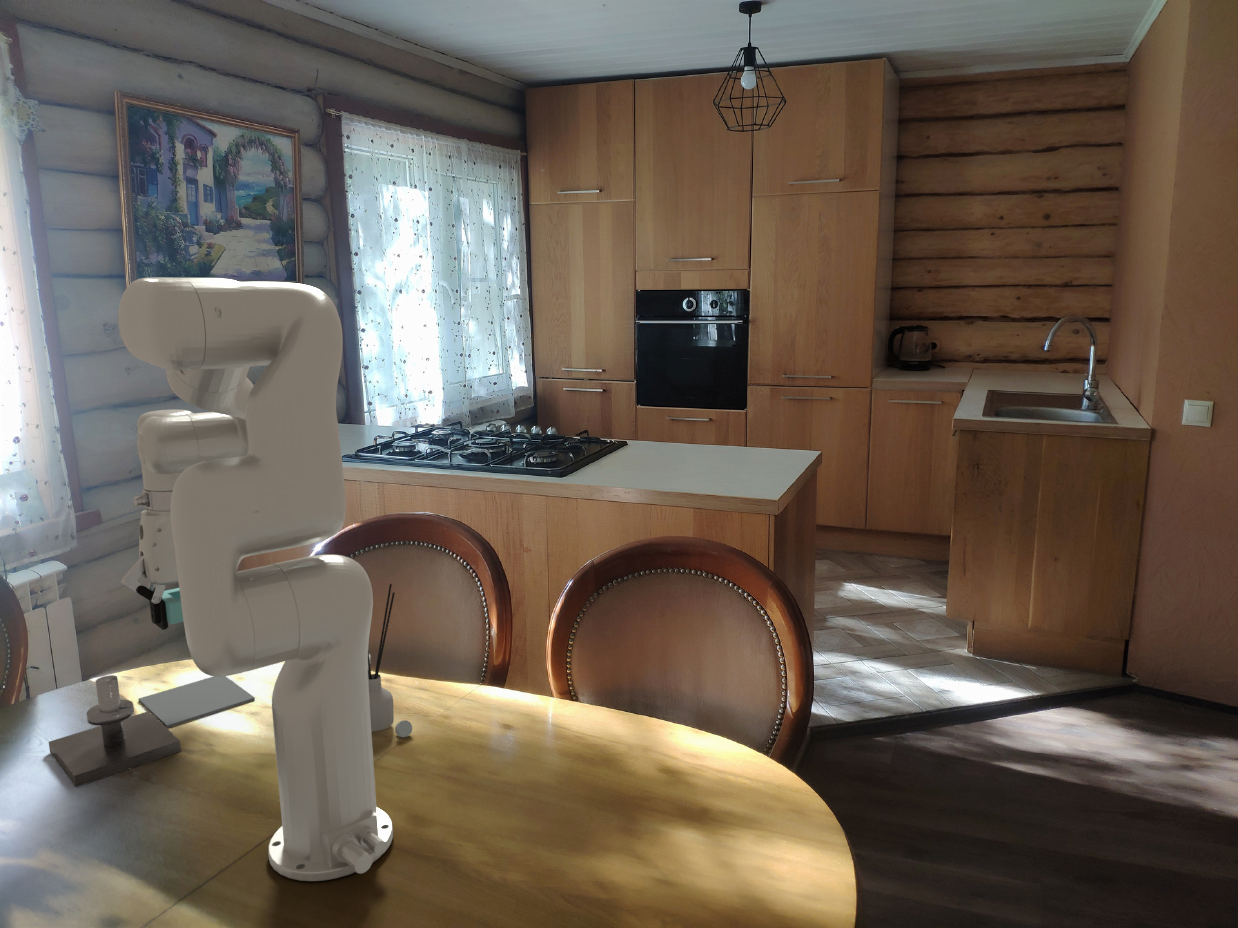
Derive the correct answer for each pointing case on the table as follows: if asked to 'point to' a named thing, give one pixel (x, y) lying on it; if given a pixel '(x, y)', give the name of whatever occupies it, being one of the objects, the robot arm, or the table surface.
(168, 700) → the slate mat
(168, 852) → the table surface
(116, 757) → the ring stand
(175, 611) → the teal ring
